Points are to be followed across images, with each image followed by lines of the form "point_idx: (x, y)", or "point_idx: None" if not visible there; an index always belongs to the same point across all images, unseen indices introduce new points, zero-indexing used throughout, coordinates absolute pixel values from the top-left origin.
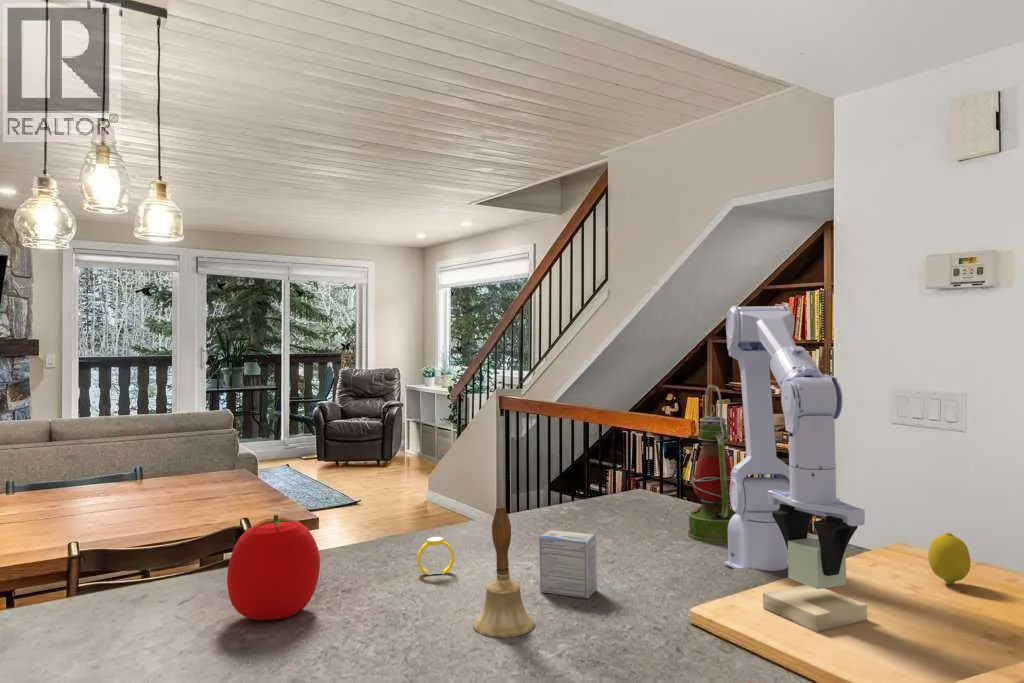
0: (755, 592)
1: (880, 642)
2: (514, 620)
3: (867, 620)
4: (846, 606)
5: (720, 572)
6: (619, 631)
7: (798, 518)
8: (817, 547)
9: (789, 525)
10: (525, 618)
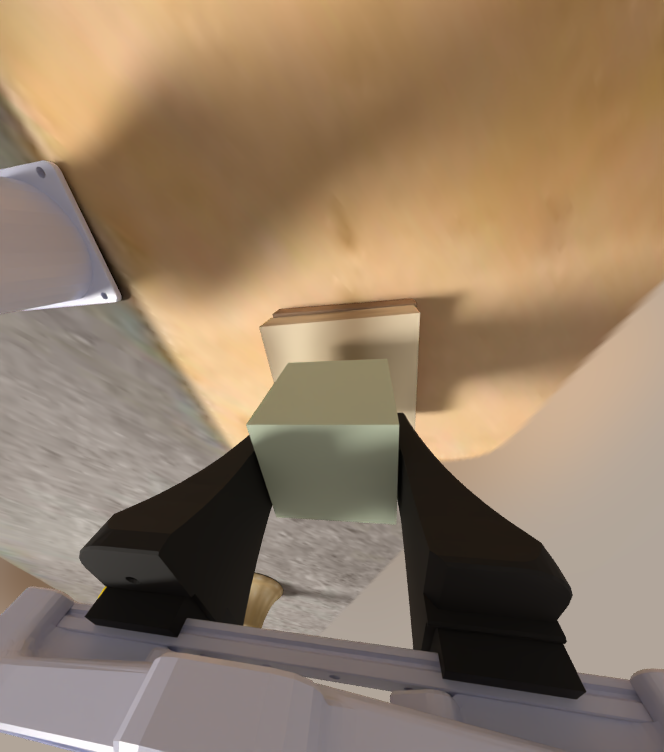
0: (188, 354)
1: (462, 323)
2: (272, 599)
3: (416, 306)
4: (407, 365)
5: (76, 341)
6: (293, 542)
7: (224, 564)
8: (369, 504)
9: (251, 564)
10: (265, 591)
